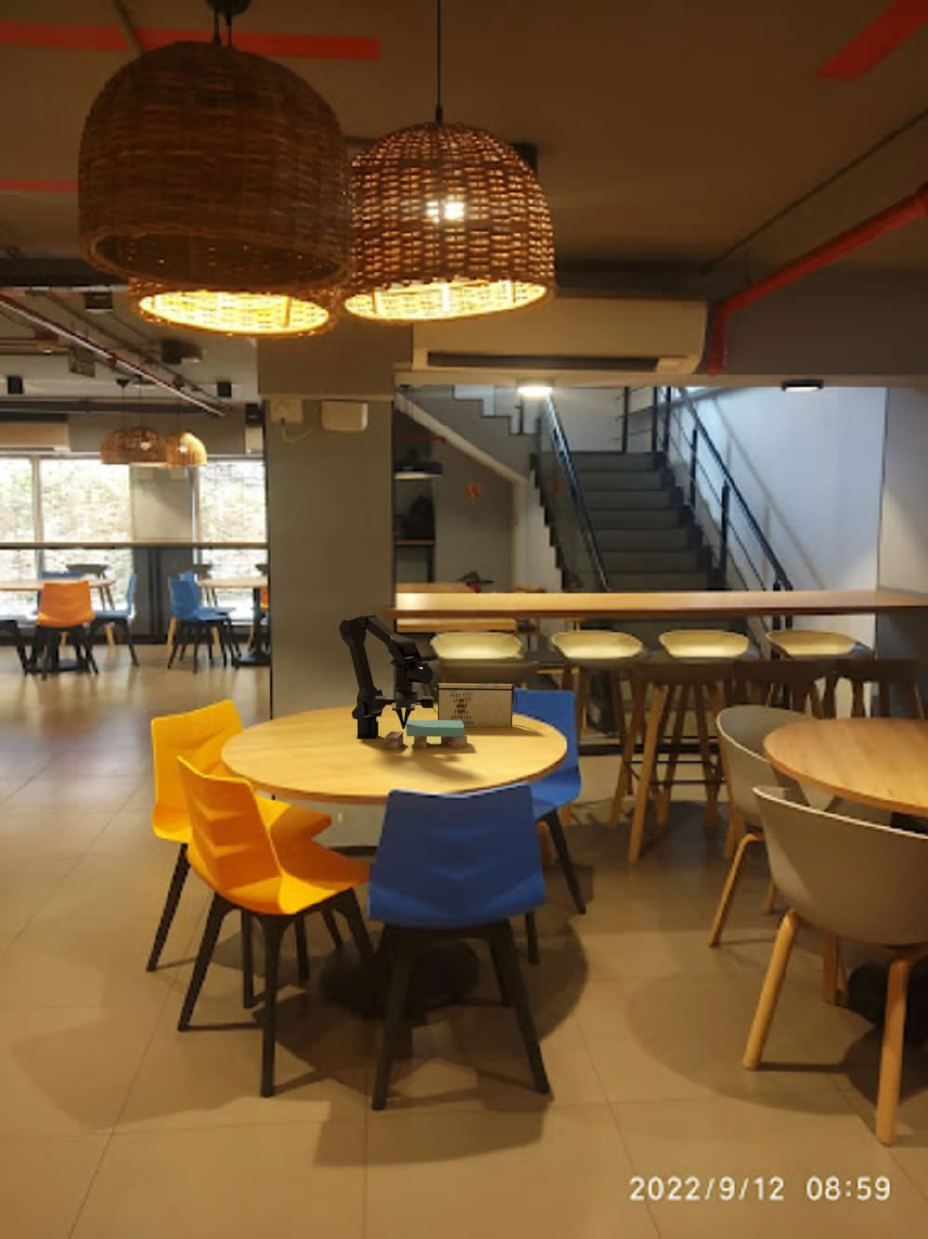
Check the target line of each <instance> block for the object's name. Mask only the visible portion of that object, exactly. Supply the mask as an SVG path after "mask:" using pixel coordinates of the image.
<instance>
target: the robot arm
mask: <svg viewBox="0 0 928 1239" xmlns="http://www.w3.org/2000/svg"><path fill="white" fill-rule="evenodd" d="M340 622H341V623H340V624H339V627H338V628H339V632H340V636H341V638H342V641H343V642H344V643H345V644H346V646H348V648H349V651H350V655H351V660H352V664H353V668H354V673H355V677H356V682H357V686H358V692H357V696H356V706H355V707H354V709H352V711H351V717H352V719H353V720H356V724H357V730H356V732H357V734H356V738H357V739H376V738H378V736H379V733H380V730H379V724H380V723H379V722H380V721H379V720H377V719H378V718H379V717H382V715H383V712H384V711H383V710H384V708H385V707H386V706H391V710H392V711H394V712H395V713H396V715H397V716H398V720H399V722H400V725H401V728H402V730H406V723H407V720H409V717H410V715H411V713H412V712H414V711H415V710H416V706H421V707H422V708H423V709H433V708H434V709H435V707H434V706H435V705H434V702H435V701H434V697H432V695H421V696H420V698H418V691H414V683H415V684H421V685H423V686H424V685H425V686H427V685H430V683H431V682H432V681H433V678H434V672H433V669H432V668H431V667H430V666H429V662H427V661H424V660H423V658H422V655H421V653H420V652H419V649H418V648H417V644H416V643H415V641H414V640H413V639H410V638H409V637H406V636H404V635H401V634H398V633H396V632H395V631H394V630H393V629H391V628H390V627H389V626H387V625H386V624H385V623H384V622H382V621H381V620H380V619H378V617H377V615H375V614H373V613H370V614H369V613H368V614H362V615H361V616H358V617H355V618H349V619H343V620H341V621H340ZM367 631H368V632H369V633H370V634H371V635H373V636H374V637H375V638H377V639H378V640H379V641H381V643H383V644H384V645H385V647H387V652H388V653H389V654H390V655H391V656H392V658H393V659H391V661H390V662H389V664H390V666H391V665H392V666H394V693H393V695H394V696H393V698H388V697H387V695H383V691H382V689H378V688H377V687H376V686H375V683H374V679H373V675H372V672H371V668H370V663H369V659H368V658H369V657H368V654H367V650H366V646H365V642H366V638H367ZM403 709H404V711H403ZM403 712H404V713H403Z"/></svg>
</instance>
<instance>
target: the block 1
mask: <svg viewBox="0 0 928 1239" xmlns="http://www.w3.org/2000/svg"><path fill="white" fill-rule="evenodd" d="M383 739H384V742H383V744H384V748H383V749H384V750H385V751H386V750H387V751H398V750H399V749H400V747H401V746H403V744H404V731H389V732H388V734H386V736H384V738H383Z"/></svg>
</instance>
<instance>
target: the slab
mask: <svg viewBox="0 0 928 1239" xmlns="http://www.w3.org/2000/svg"><path fill="white" fill-rule="evenodd" d="M465 727H466V726H464V725H463V722H462V721H454V720H438V719H432V720H431V719H430V720H429V719H408V720H407V723H406V726H405V732H406V737H414V736H427V738H428V737H440V738H441V737H464V736H465V732H466V731H465V730H466V728H465Z"/></svg>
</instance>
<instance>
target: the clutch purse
mask: <svg viewBox="0 0 928 1239" xmlns="http://www.w3.org/2000/svg"><path fill="white" fill-rule="evenodd" d="M435 685H436V686H435V687H433V688H432V689H433V690H432V691H433V692H432V695H431V696H432V697H433V698H434V696H435V693H436V702H437V710H436V709H435V707H434V708H432V710H433V711H434V712H435V713H436V714H437V720H454V721H462V722H463V725H464V727H466V726H467V727H468V726H470V727H472V726H477V727H479V726H481V727H482V726H483V727H487V726H488V727H513V716H514V715H515V712H516V710H517V706H518V705H517V704H518V694H517V692H518V690H519V689H518V688H515V683H506V684H505V683H446V682H445V683H441V682H440V683H438V682H437V683H436V684H435ZM514 702H515V707H514V710H513V705H514Z"/></svg>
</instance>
